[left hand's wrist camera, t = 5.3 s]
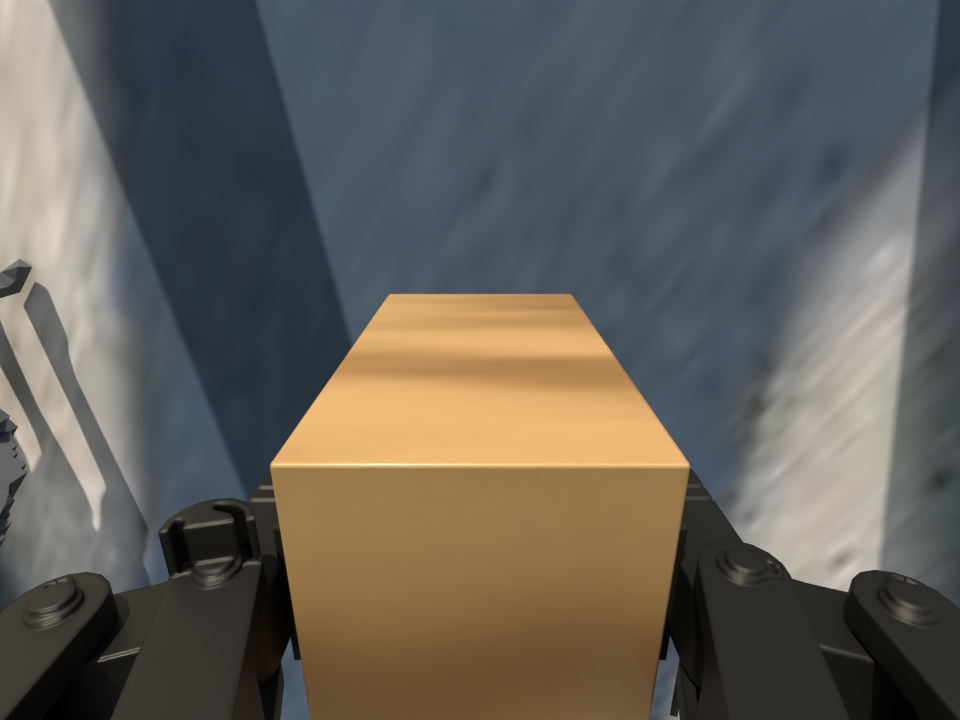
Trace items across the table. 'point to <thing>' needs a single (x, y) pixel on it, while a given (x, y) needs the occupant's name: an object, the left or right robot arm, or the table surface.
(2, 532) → the toy
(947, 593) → the table surface
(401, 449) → the bar
